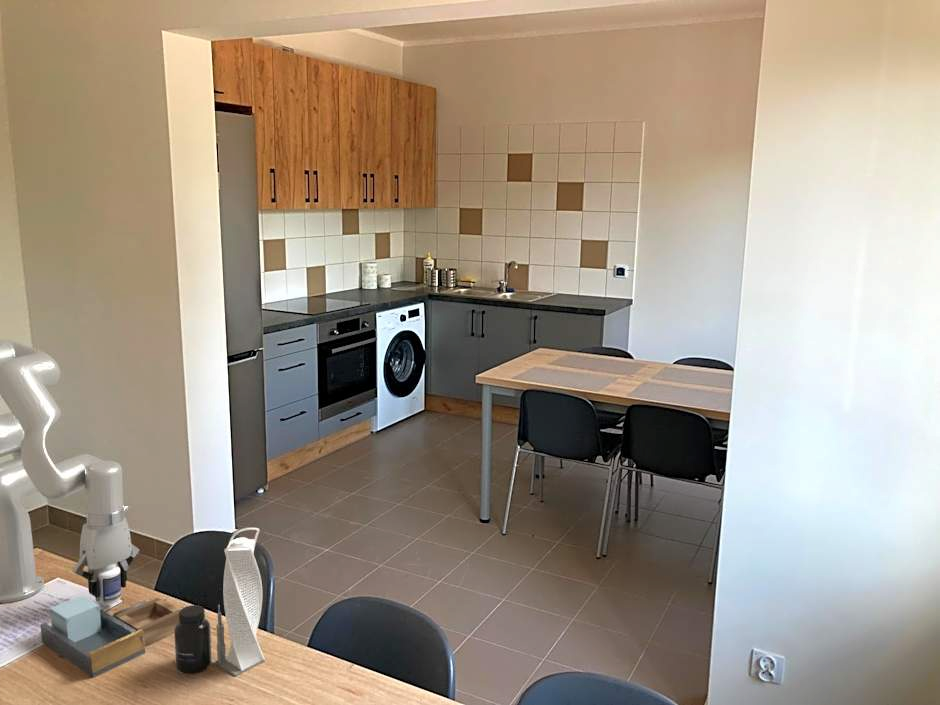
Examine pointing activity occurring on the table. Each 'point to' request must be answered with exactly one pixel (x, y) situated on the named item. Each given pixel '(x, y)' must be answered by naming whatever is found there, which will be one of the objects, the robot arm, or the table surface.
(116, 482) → the robot arm
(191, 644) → the supplement bottle
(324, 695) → the table surface
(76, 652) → the bay
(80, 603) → the pale teal block
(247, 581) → the skyscraper
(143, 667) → the table surface
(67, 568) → the table surface
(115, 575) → the pill bottle
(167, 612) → the open wooden box
